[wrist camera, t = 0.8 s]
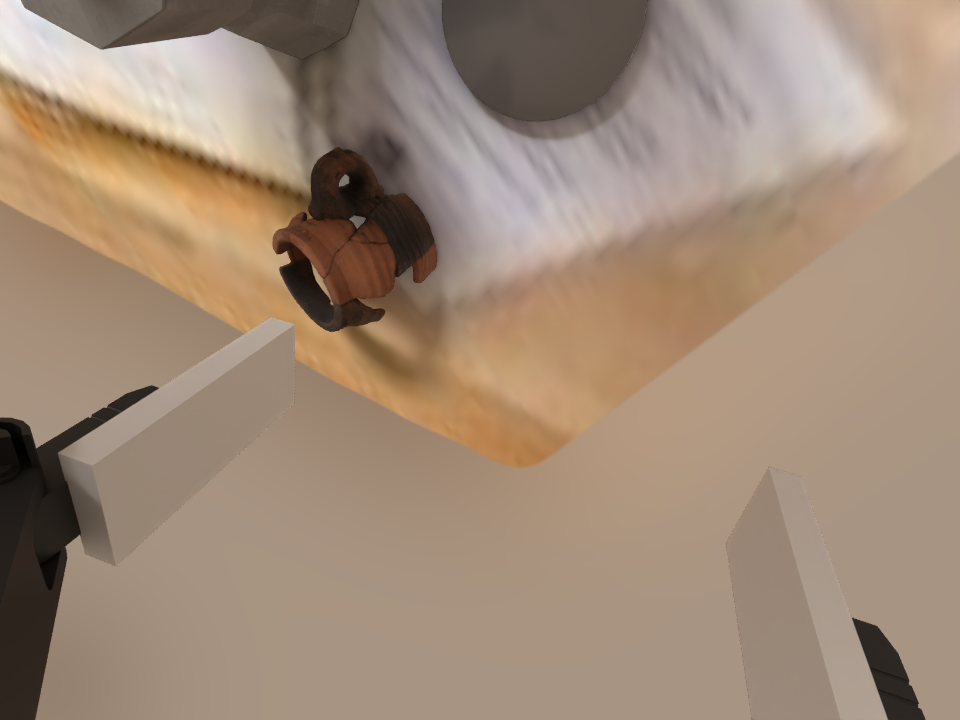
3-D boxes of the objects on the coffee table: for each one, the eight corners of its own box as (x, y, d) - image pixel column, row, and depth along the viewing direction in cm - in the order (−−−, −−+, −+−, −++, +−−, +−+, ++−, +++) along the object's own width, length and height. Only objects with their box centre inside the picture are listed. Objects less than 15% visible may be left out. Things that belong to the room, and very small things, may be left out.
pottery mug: (452, 306, 40) (363, 365, 36) (371, 265, 46) (284, 313, 41) (431, 139, 33) (314, 189, 28) (336, 112, 38) (225, 152, 33)
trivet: (411, -16, 32) (404, -19, 31) (582, -178, 27) (579, -186, 26) (512, 157, 34) (508, 159, 33) (684, 40, 29) (685, 39, 28)
